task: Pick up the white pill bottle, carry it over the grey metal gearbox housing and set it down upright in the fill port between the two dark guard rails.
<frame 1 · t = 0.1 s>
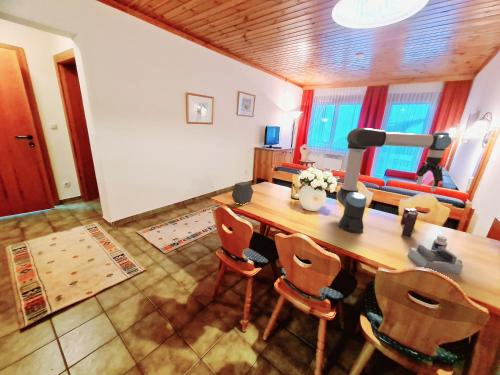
hand: (425, 188, 140), 28 cm above the table, fingers open, 13 cm apart
supplement box: (406, 235, 132), on the table
pill bottle: (436, 253, 114), on the table
planter: (242, 203, 173), on the table
soda can: (406, 224, 148), on the table
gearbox: (432, 264, 103), on the table
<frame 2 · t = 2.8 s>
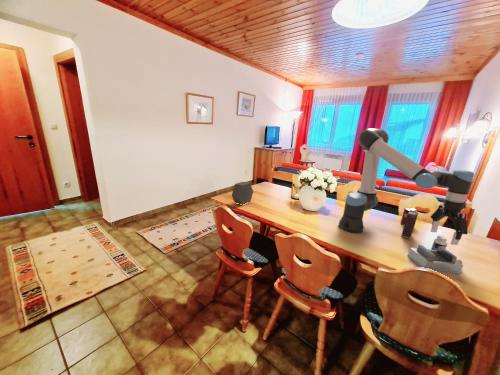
hand: (443, 237, 111), 10 cm above the table, fingers open, 13 cm apart
nothing on the table moved.
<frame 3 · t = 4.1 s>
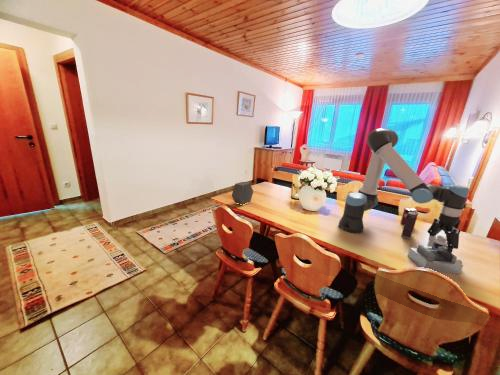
hand: (437, 251, 113), 1 cm above the table, fingers open, 10 cm apart
nothing on the table moved.
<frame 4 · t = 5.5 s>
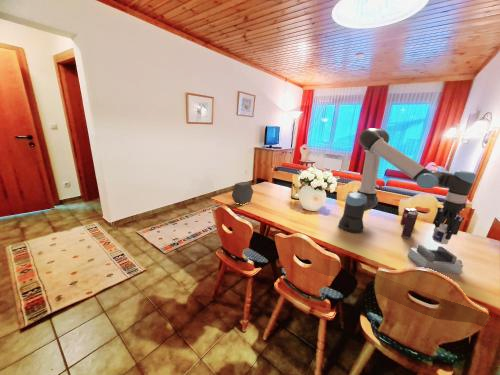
hand: (439, 240, 112), 7 cm above the table, fingers closed on pill bottle, 5 cm apart
pill bottle: (438, 241, 112), point 7 cm above the table, touching gripper
everything else where it was.
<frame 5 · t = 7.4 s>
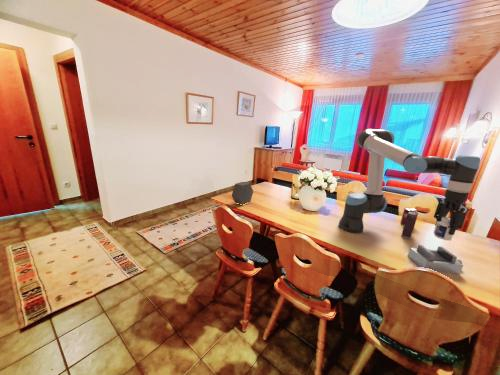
hand: (441, 236, 99), 16 cm above the table, fingers closed on pill bottle, 5 cm apart
pill bottle: (441, 237, 99), point 15 cm above the table, touching gripper
everything else where it was.
when the fingers open (7 cm above the table, at t = 9.5 s): pill bottle drops 1 cm, resting on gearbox.
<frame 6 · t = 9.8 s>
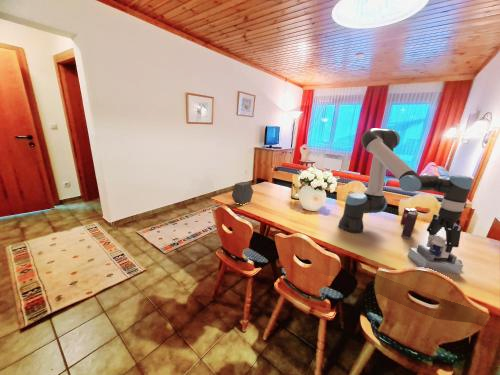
hand: (436, 251, 101), 7 cm above the table, fingers open, 8 cm apart
pill bottle: (435, 255, 101), point 5 cm above the table, touching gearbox
everything else where it was.
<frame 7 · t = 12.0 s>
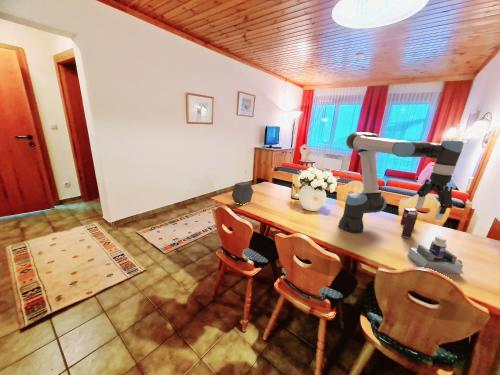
hand: (427, 213, 105), 24 cm above the table, fingers open, 13 cm apart
nothing on the table moved.
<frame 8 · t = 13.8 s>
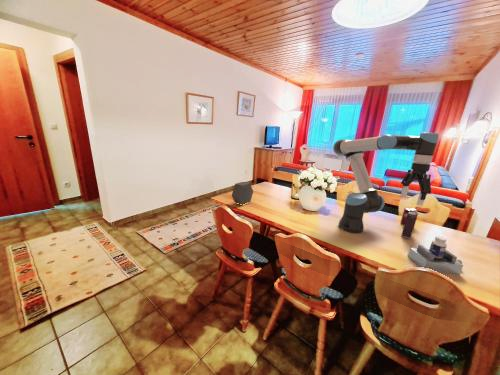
hand: (410, 200, 114), 27 cm above the table, fingers open, 13 cm apart
nothing on the table moved.
at the end: pill bottle inside the target area on the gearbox (0.1 cm from its centre), point 5.1 cm above the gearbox's base; pill bottle tilted 0°; the gripper is holding nothing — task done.
